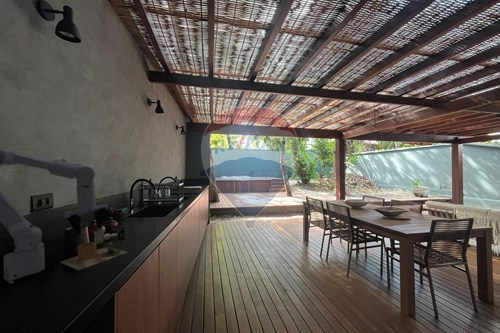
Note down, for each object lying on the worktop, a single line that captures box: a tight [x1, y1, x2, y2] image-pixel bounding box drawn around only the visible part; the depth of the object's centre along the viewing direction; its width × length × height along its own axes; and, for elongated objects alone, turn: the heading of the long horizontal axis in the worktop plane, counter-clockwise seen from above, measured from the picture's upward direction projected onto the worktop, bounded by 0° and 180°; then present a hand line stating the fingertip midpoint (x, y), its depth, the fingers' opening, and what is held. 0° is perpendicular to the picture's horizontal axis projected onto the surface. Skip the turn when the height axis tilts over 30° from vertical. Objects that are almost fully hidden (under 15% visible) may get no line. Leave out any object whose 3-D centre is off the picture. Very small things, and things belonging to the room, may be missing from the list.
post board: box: [60, 241, 128, 271], centre depth 85 cm, size 17×15×6 cm
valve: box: [93, 226, 126, 245], centre depth 104 cm, size 7×7×12 cm
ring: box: [77, 241, 98, 260], centre depth 85 cm, size 6×6×5 cm
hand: (89, 231), depth 86 cm, fingers open, 7 cm apart
